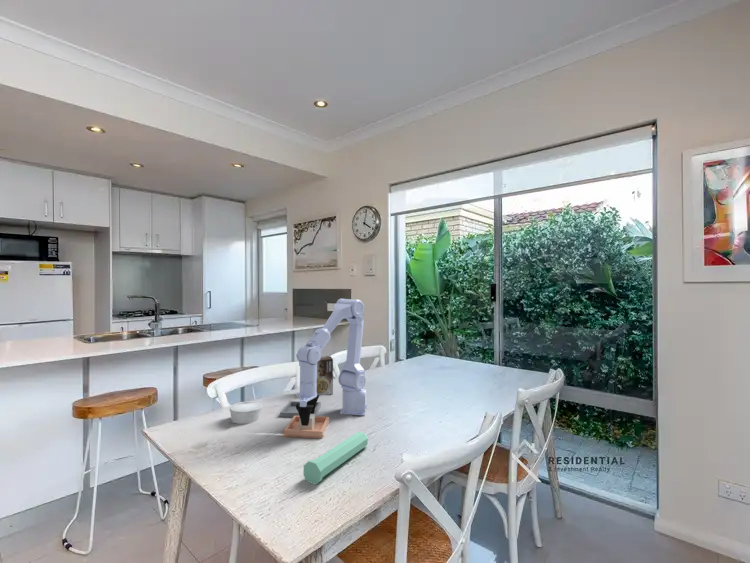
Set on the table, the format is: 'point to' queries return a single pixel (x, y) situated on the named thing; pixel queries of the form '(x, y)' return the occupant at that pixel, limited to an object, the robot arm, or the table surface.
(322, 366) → the coffee box
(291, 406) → the grey tray
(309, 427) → the white cube
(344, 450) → the mint green octagonal prism
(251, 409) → the ramekin
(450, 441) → the table surface
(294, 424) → the terracotta tray
